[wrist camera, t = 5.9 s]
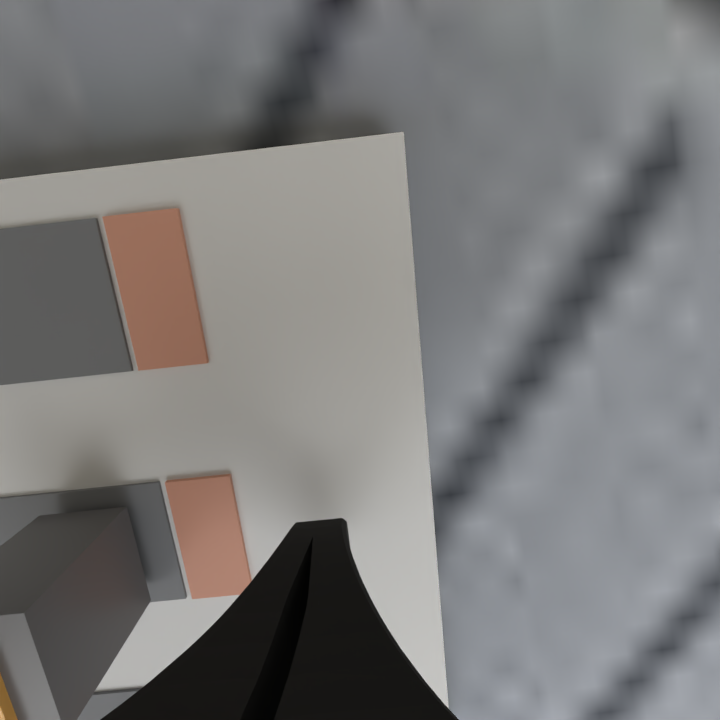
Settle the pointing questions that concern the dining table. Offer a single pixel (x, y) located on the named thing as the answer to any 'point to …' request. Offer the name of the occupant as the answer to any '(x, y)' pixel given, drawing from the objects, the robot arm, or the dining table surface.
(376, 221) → the panel
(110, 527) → the breaker
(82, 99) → the dining table surface
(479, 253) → the dining table surface
